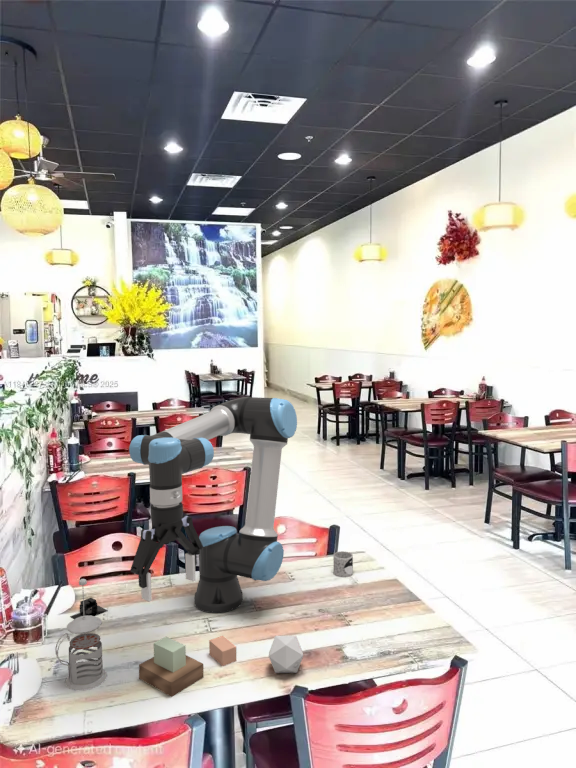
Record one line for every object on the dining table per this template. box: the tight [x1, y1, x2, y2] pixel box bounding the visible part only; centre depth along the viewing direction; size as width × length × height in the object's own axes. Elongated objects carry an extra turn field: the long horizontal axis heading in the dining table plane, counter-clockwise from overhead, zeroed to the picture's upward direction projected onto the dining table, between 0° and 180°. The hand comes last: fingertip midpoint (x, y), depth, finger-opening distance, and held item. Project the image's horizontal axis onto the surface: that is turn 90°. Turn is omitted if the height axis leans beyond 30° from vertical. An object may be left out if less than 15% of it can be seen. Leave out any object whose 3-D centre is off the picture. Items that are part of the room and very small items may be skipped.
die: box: [268, 635, 304, 674], centre depth 148 cm, size 8×9×10 cm
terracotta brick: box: [208, 635, 237, 667], centre depth 154 cm, size 7×4×4 cm, turn 36°
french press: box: [54, 578, 108, 691], centre depth 144 cm, size 10×12×25 cm
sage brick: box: [153, 636, 187, 672], centre depth 145 cm, size 7×4×5 cm, turn 52°
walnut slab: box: [138, 654, 205, 698], centre depth 145 cm, size 12×10×4 cm
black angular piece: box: [69, 597, 109, 620], centre depth 179 cm, size 12×7×5 cm, turn 139°
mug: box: [333, 551, 354, 578], centre depth 209 cm, size 10×7×7 cm, turn 149°
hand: (169, 589), depth 144 cm, fingers open, 13 cm apart
